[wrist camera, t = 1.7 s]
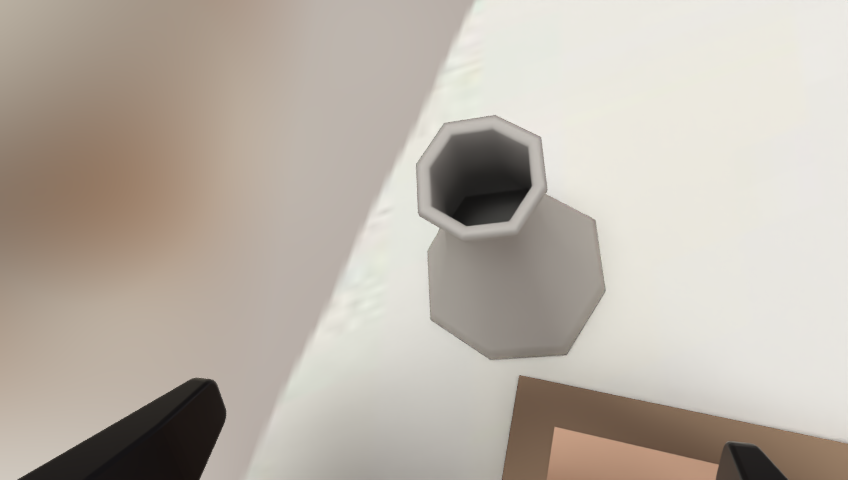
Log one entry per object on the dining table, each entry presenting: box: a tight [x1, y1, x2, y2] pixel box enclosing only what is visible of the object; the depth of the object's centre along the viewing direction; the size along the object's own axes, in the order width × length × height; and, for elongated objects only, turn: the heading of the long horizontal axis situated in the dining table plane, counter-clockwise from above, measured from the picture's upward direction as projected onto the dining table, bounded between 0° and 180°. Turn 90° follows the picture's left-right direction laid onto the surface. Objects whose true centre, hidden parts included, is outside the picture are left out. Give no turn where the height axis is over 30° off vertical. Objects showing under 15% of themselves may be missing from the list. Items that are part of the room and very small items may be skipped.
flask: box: [416, 115, 605, 359], centre depth 18 cm, size 7×7×10 cm
